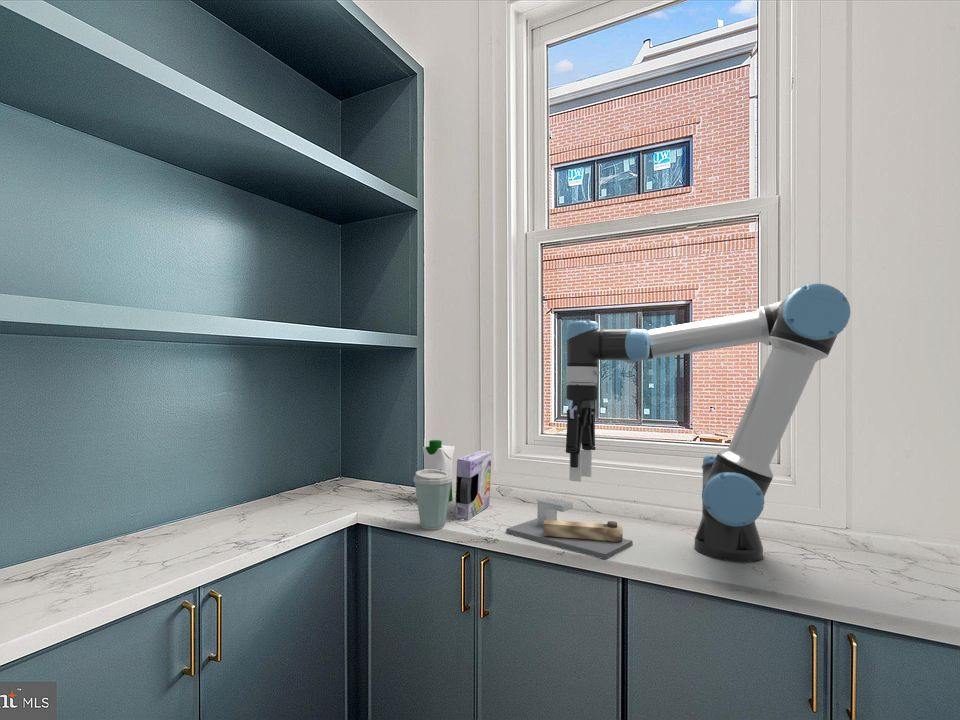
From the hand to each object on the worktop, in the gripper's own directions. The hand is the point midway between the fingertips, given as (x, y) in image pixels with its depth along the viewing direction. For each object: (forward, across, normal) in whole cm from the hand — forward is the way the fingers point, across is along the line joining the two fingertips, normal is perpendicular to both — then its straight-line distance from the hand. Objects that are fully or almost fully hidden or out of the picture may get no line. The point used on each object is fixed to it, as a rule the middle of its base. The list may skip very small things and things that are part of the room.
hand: (580, 478), depth 131 cm
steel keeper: (+17, +10, +11) cm, 23 cm away
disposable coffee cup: (+17, -6, +40) cm, 44 cm away
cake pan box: (+17, +13, +39) cm, 45 cm away
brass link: (+15, +5, +1) cm, 16 cm away
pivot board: (+17, +5, +5) cm, 19 cm away
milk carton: (+17, +19, +56) cm, 62 cm away
